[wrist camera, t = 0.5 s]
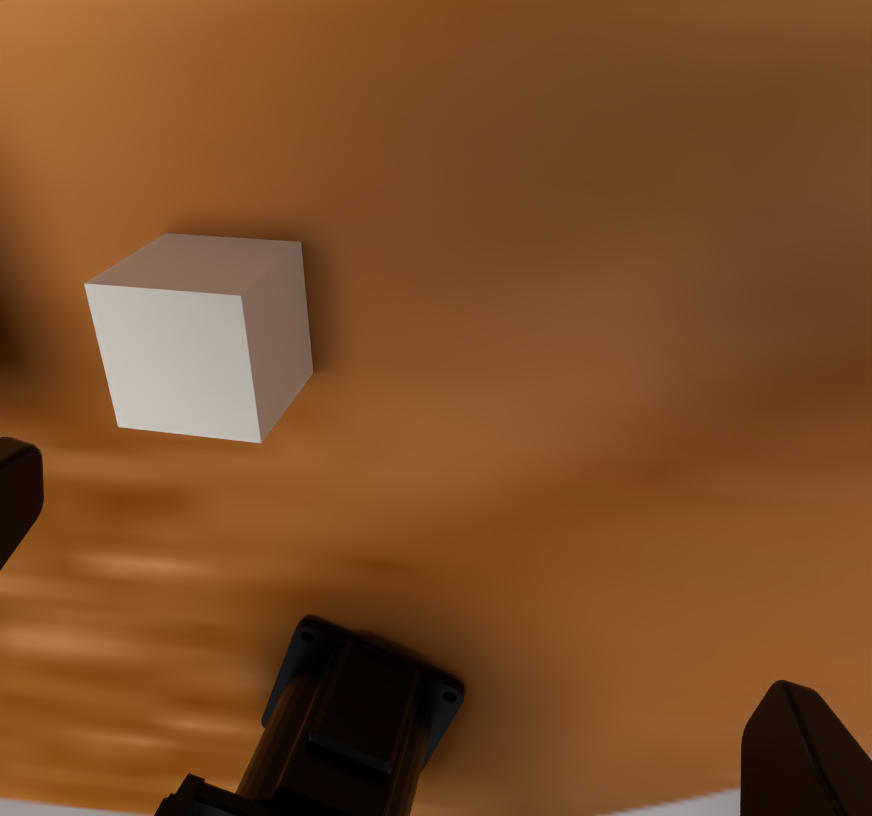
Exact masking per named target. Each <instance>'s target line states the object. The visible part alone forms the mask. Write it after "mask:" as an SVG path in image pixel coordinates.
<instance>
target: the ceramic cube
mask: <svg viewBox="0 0 872 816" xmlns="http://www.w3.org/2000/svg"><path fill="white" fill-rule="evenodd" d="M84 285H85V290H86V294H87V298H88V302H89V306H90V310H91V315H92V319H93V323H94V327H95V331H96V335H97V340H98V344H99V348H100V352H101V356H102V361H103V365H104V369H105V373H106V377H107V381H108V386H109V390H110V394H111V398H112V402H113V406H114V411H115V415H116V419H117V423H118V427H124V428H132V429H141V430H150V431H159V432H167V433H176V434H185V435H194V436H202V437H211V438H220V439H229V440H237V441H246V442H255V443H262V441H263V440H264V439H265V437H266V436H267V435H268V433H269V432H270V431H271V429H272V428H273V427H274V425H275V424H276V423H277V421H278V420H279V419H280V417H281V416H282V414H283V413H284V412H285V410H286V409H287V408H288V406H289V405H290V404H291V402H292V401H293V400H294V398H295V397H296V396H297V394H298V393H299V392H300V390H301V389H302V388H303V386H304V385H305V384H306V382H307V381H308V379H309V378H310V377H311V375H312V374H313V364H312V354H311V343H310V332H309V322H308V311H307V300H306V290H305V279H304V268H303V257H302V247H301V242H296V241H280V240H265V239H249V238H234V237H218V236H203V235H187V234H172V233H165V234H163V235H161V236H160V237H158V238H157V239H155V240H153V241H152V242H150V243H148V244H147V245H145V246H144V247H142V248H140V249H139V250H137V251H136V252H134V253H132V254H131V255H129V256H127V257H126V258H124V259H123V260H121V261H119V262H118V263H116V264H115V265H113V266H111V267H110V268H108V269H106V270H105V271H103V272H102V273H100V274H98V275H97V276H95V277H94V278H92V279H90V280H89V281H87V282H85V283H84Z"/></svg>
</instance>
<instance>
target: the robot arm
mask: <svg viewBox="0 0 872 816" xmlns="http://www.w3.org/2000/svg"><path fill="white" fill-rule="evenodd" d="M43 502H44V488H43V461H42V453H41V451H40V449H39V448H38V447H37V446H35V445H34V444H31V443H27V442H24V441H21V440H18V439H15V438H11V437H1V438H0V570H1V569H2V567H3V566H4V565H5V563H6V562H7V560H8V559H9V558H10V556H11V555H12V553H13V552H14V551H15V549H16V548H17V546H18V545H19V544H20V542H21V541H22V539H23V538H24V537H25V535H26V534H27V532H28V531H29V530H30V528H31V527H32V525H33V524H34V523H35V521H36V520H37V518H38V516H39V514H40V512H41V509H42V507H43ZM309 633H310V634H309ZM450 692H451V693H450ZM464 694H465V687H464V685H463V684H462V683H461V682H459V681H458V680H456V679H453V678H451V677H449V676H446V675H444V674H441V673H439V672H437V671H434V670H432V669H430V668H427V667H425V666H422V665H420V664H418V663H415V662H413V661H410V660H408V659H406V658H403V657H401V656H399V655H396V654H394V653H391V652H389V651H387V650H384V649H382V648H380V647H377V646H375V645H372V644H370V643H368V642H365V641H363V640H360V639H358V638H356V637H353V636H351V635H349V634H346V633H344V632H341V631H339V630H337V629H334V628H332V627H329V626H327V625H325V624H322V623H320V622H318V621H315V620H312V619H303V620H301V621H300V622H299V623H298V625H297V627H296V629H295V631H294V634H293V637H292V639H291V642H290V645H289V647H288V650H287V653H286V655H285V658H284V661H283V664H282V666H281V669H280V672H279V674H278V677H277V680H276V682H275V685H274V688H273V690H272V693H271V696H270V699H269V701H268V704H267V707H266V709H265V712H264V715H263V717H262V721H261V723H262V725H263V727H264V728H265V731H264V733H263V735H262V737H261V739H260V741H259V743H258V746H257V748H256V750H255V752H254V754H253V756H252V759H251V761H250V763H249V765H248V767H247V769H246V771H245V774H244V776H243V778H242V780H241V782H240V784H239V787H238V789H237V791H236V793H232V792H229V791H227V790H224V789H221V788H219V787H216V786H213V785H211V784H208V783H205V779H203V778H201V777H198V776H195V775H193V774H190V773H189V774H188V775H187V777H186V778H185V780H184V781H183V783H182V784H181V786H180V788H179V789H178V791H177V792H176V794H172V793H171V794H170V795H169V797H168V798H164V799H163V800H162V802H161V804H160V806H159V808H158V809H157V811H156V813H155V815H154V816H410V813H411V809H412V805H413V801H414V797H415V793H416V789H417V785H418V781H419V777H420V773H421V772H422V770H423V768H424V767H425V765H426V763H427V761H428V760H429V758H430V756H431V755H432V753H433V751H434V750H435V748H436V746H437V745H438V743H439V741H440V740H441V738H442V736H443V735H444V733H445V731H446V730H447V728H448V726H449V725H450V723H451V721H452V719H453V718H454V716H455V714H456V713H457V711H458V709H459V708H460V706H461V704H462V703H463V699H464ZM740 816H872V760H871V759H870V757H869V756H868V755H867V754H866V752H865V751H864V750H863V749H862V747H861V746H860V745H859V744H858V742H857V741H856V740H855V739H854V737H853V736H852V735H851V734H850V732H849V731H848V730H847V729H846V727H845V726H844V725H843V723H842V722H841V721H840V720H839V718H838V717H837V716H836V715H835V713H834V712H833V711H832V710H831V708H830V707H829V706H828V705H827V703H826V702H825V701H824V700H823V698H822V697H821V696H820V695H819V694H818V693H817V692H816V691H815V690H813V689H811V688H808V687H805V686H802V685H799V684H795V683H792V682H789V681H786V680H778V681H776V682H775V683H773V684H772V686H771V687H770V688H769V690H768V691H767V693H766V694H765V696H764V697H763V699H762V700H761V702H760V704H759V705H758V707H757V708H756V710H755V711H754V713H753V714H752V716H751V717H750V719H749V721H748V722H747V724H746V726H745V729H744V732H743V736H742V743H741V801H740Z"/></svg>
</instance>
